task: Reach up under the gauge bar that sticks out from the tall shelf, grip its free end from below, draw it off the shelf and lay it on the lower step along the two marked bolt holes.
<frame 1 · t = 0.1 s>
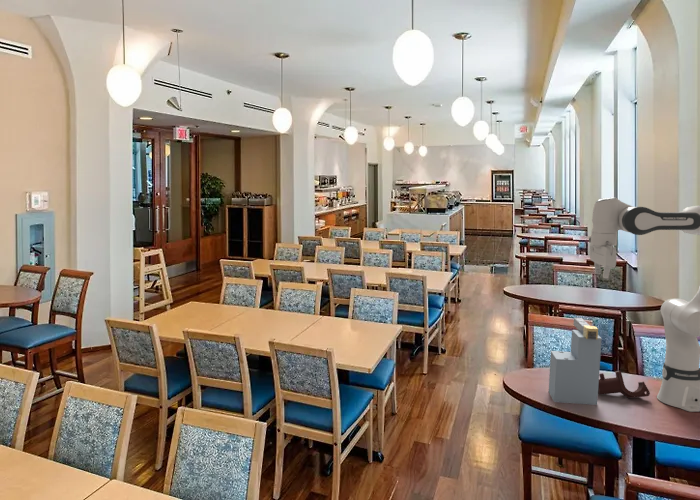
hand: (601, 276, 196), 48 cm above the table, tool pointing down, fingers open, 8 cm apart
gauge bar: (584, 331, 199), point 26 cm above the table, touching stepped stand
bracket: (620, 396, 202), on the table
stepped stand: (571, 398, 200), on the table
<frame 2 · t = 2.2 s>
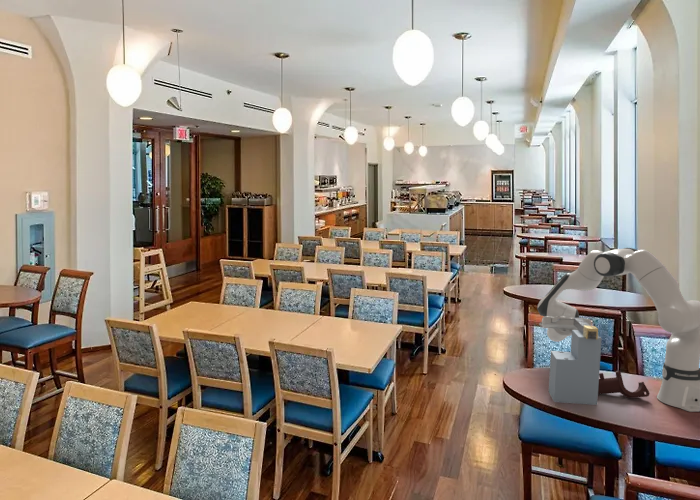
hand: (569, 318, 220), 26 cm above the table, tool pointing upward, fingers open, 8 cm apart
nothing on the table moved.
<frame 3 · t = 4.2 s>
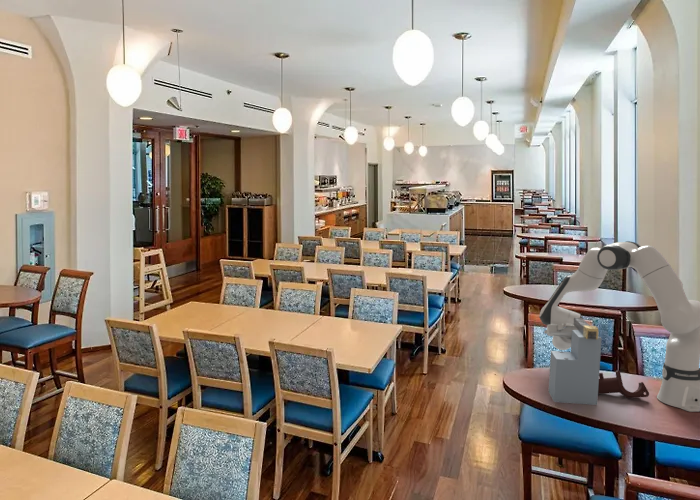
hand: (576, 326, 211), 25 cm above the table, tool pointing upward, fingers open, 8 cm apart
nothing on the table moved.
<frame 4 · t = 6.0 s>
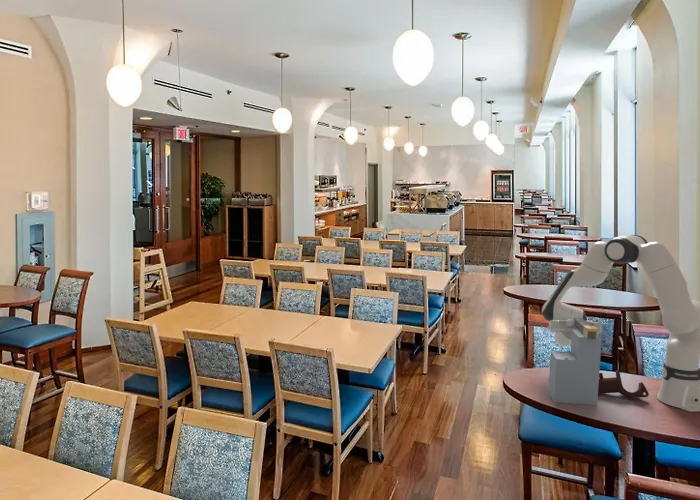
hand: (579, 322, 206), 28 cm above the table, tool pointing upward, fingers closed on gauge bar, 3 cm apart
gauge bar: (584, 331, 199), point 26 cm above the table, touching gripper, stepped stand
everything else where it was.
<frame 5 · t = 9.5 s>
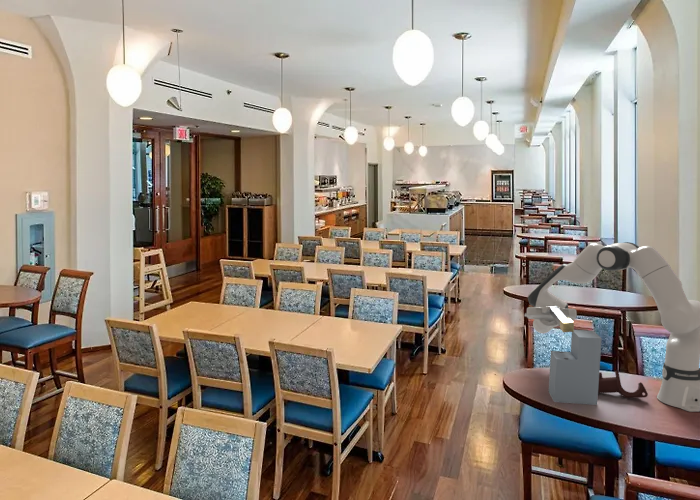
hand: (554, 308, 216), 31 cm above the table, tool pointing upward, fingers closed on gauge bar, 3 cm apart
gauge bar: (560, 321, 209), point 27 cm above the table, tilted 11°, touching gripper
everything else where it was.
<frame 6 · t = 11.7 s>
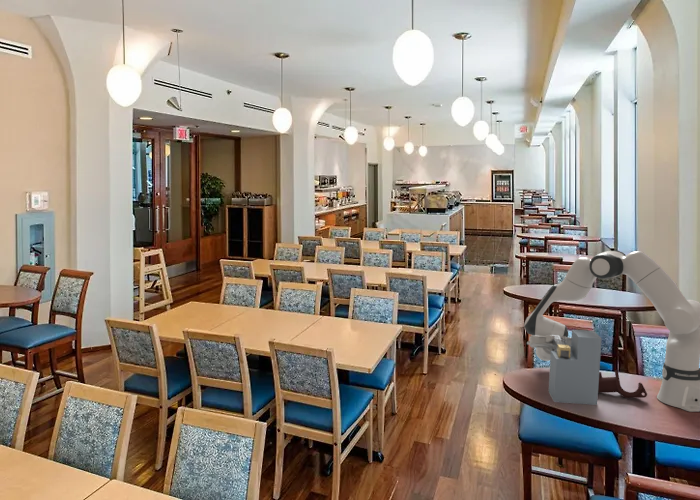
hand: (558, 338, 207), 21 cm above the table, tool pointing upward, fingers closed on gauge bar, 3 cm apart
gauge bar: (559, 349, 205), point 17 cm above the table, touching gripper, stepped stand
when the fingers open (20 cm above the table, at t = 12.5 s): gauge bar stays where it is, resting on stepped stand.
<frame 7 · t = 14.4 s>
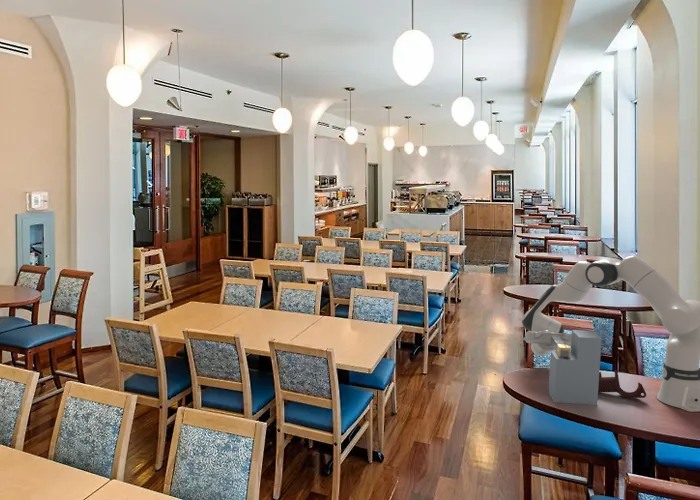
hand: (553, 333, 216), 20 cm above the table, tool pointing upward, fingers open, 8 cm apart
gauge bar: (559, 349, 205), point 17 cm above the table, touching stepped stand
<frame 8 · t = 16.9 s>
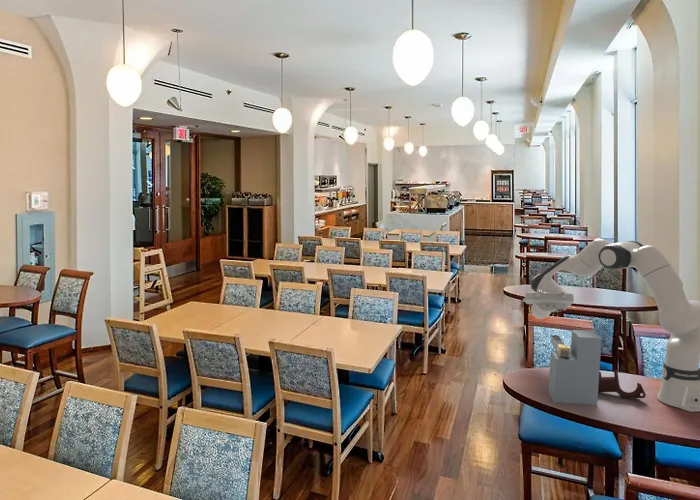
hand: (552, 293, 221), 36 cm above the table, tool pointing upward, fingers open, 8 cm apart
at the end: gauge bar inside the target area (5.8 cm from its centre), point 17.1 cm above the table; the gripper is holding nothing; gauge bar point 17.1 cm above the table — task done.
